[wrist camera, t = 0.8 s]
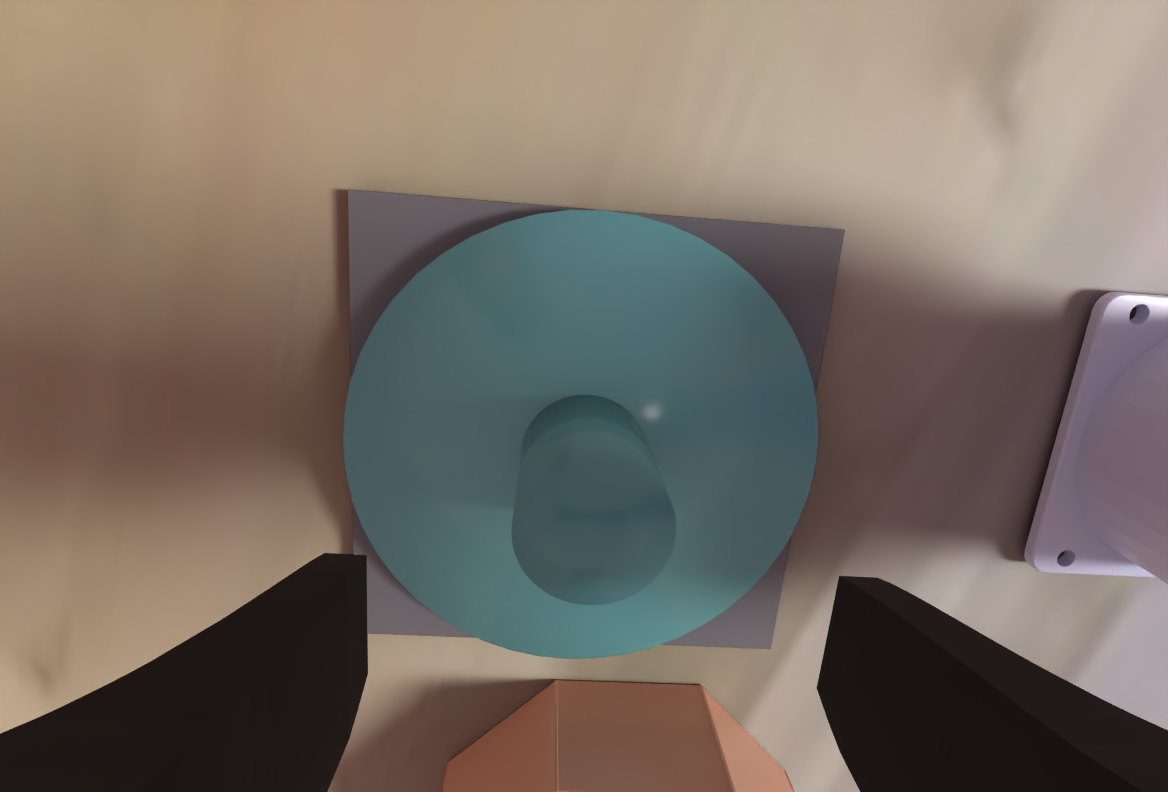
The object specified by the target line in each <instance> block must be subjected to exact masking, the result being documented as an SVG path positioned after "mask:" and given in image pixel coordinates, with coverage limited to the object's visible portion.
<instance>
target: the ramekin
mask: <svg viewBox="0 0 1168 792" xmlns="http://www.w3.org/2000/svg"><path fill="white" fill-rule="evenodd" d="M442 792H794V790H793V787H792V785H791V782H790V780H789V778H788V775H787V773H786V771H784V770H783V769H782V768H781V767H780V766H779V765H778V764H777V763H776V762H775V761H774V760H773V759H772V758H771V757H770V756H769V754H768V753H767V752H766V751H765V750H764V749H763V748H762V747H761V746H760V745H759V744H758V743H757V742H756V741H755V740H754V739H753V738H752V737H751V736H750V735H749V734H748V733H747V732H746V731H745V730H744V729H743V728H742V727H741V726H740V725H739V724H738V723H737V722H736V721H735V720H734V719H733V718H732V717H731V716H730V715H729V714H728V713H727V712H726V711H725V710H724V708H723V707H722V706H721V705H720V704H719V703H718V702H717V701H716V700H715V699H714V698H713V697H712V696H711V695H710V694H709V693H708V692H707V691H706V690H705V689H704V688H703V686H702V685H680V684H652V683H623V682H594V681H566V680H554V682H553V683H551V684H550V685H549V686H548V687H546V688H545V689H544V690H542V691H541V692H540V693H538V694H537V695H536V696H534V697H533V698H532V699H530V700H529V701H528V702H527V703H525V704H524V705H523V706H521V707H520V708H519V709H517V710H516V711H515V712H513V713H512V714H511V715H510V716H508V717H507V718H506V719H504V720H503V721H502V722H500V723H499V724H498V725H496V726H495V727H494V728H492V729H491V730H490V731H489V732H487V733H486V734H485V735H483V736H482V737H481V738H479V739H478V740H477V741H475V742H474V743H473V744H472V745H470V746H469V747H468V748H466V749H465V750H464V751H462V752H461V753H460V754H458V755H457V756H456V757H454V758H453V759H452V760H451V761H449V762H447V766H446V771H445V776H444V782H443V787H442Z"/></svg>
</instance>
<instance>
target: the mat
mask: <svg viewBox="0 0 1168 792" xmlns="http://www.w3.org/2000/svg"><path fill="white" fill-rule="evenodd" d="M564 210H594V209H582V208H569V207H557V206H544V205H532V204H520V203H507V202H495V201H482V200H470V199H458V198H445V197H433V196H420V195H408V194H396V193H383V192H371V191H358V190H348V223H349V289H350V356H351V378H352V375H353V372H354V369H355V367H356V364H357V361H358V358H359V355H360V352H361V350H362V348H363V347H364V345H365V343H366V341H367V339H368V337H369V335H370V333H371V331H372V329H373V327H374V325H375V324H376V322H377V321H378V319H379V318H380V317H381V315H382V314H383V312H384V311H385V310H386V308H387V307H388V305H389V304H390V303H391V301H392V300H393V298H394V297H395V296H396V295H397V294H398V293H399V292H400V291H401V290H402V289H403V288H404V287H405V286H406V285H407V284H408V283H409V282H410V280H411V279H412V278H413V277H414V276H415V275H416V274H417V273H419V272H420V271H421V270H422V269H424V268H425V267H426V266H427V265H429V264H430V263H431V262H432V261H434V260H435V259H436V258H437V257H439V256H440V255H441V254H443V253H444V252H446V251H447V250H449V249H451V248H453V247H454V246H456V245H458V244H459V243H461V242H463V241H464V240H466V239H468V238H470V237H471V236H473V235H476V234H478V233H481V232H483V231H485V230H488V229H490V228H493V227H495V226H497V225H500V224H502V223H505V222H508V221H512V220H516V219H520V218H523V217H527V216H531V215H535V214H540V213H548V212H556V211H564ZM605 211H606V210H605ZM612 212H618V213H625V214H632V215H638V216H642V217H645V218H649V219H652V220H655V221H659V222H662V223H666V224H669V225H672V226H674V227H676V228H678V229H681V230H683V231H685V232H687V233H690V234H692V235H694V236H696V237H698V238H701V239H702V240H704V241H705V242H707V243H709V244H710V245H712V246H713V247H715V248H717V249H718V250H720V251H721V252H723V253H724V254H726V255H728V256H729V257H730V258H731V259H733V260H734V261H735V262H736V263H737V264H738V265H740V266H741V267H742V268H743V269H744V270H746V271H747V272H748V273H749V274H750V275H751V276H753V277H754V278H755V280H756V281H757V282H758V283H759V284H760V285H761V286H762V287H763V289H764V290H765V291H766V292H767V293H768V294H769V295H770V296H771V298H772V299H773V300H774V301H775V303H776V304H777V306H778V307H779V309H780V310H781V312H782V313H783V315H784V316H785V318H786V319H787V321H788V322H789V324H790V325H791V327H792V329H793V331H794V333H795V335H796V338H797V340H798V342H799V344H800V346H801V348H802V350H803V352H804V355H805V358H806V361H807V364H808V368H809V371H810V374H811V377H812V380H813V385H814V391H815V395H816V389H817V384H818V378H819V372H820V367H821V361H822V355H823V349H824V344H825V338H826V332H827V327H828V321H829V315H830V310H831V304H832V298H833V293H834V287H835V281H836V276H837V270H838V264H839V259H840V253H841V247H842V242H843V236H844V230H842V229H829V228H817V227H805V226H792V225H780V224H767V223H755V222H743V221H730V220H718V219H706V218H693V217H681V216H668V215H656V214H644V213H631V212H619V211H612ZM790 537H791V536H790ZM789 543H790V538H789V540H788V542H787V543H786V545H785V547H784V549H783V550H782V551H781V553H780V554H779V556H778V557H777V558H776V560H775V561H774V562H773V564H772V565H771V566H770V568H769V569H768V571H767V572H766V573H765V574H764V575H763V576H762V577H761V578H760V579H759V580H758V581H757V582H756V583H755V585H754V586H753V587H752V588H751V589H750V590H749V591H748V592H747V593H746V594H744V595H743V596H742V597H741V598H740V599H738V600H737V601H736V602H735V603H734V604H733V605H731V606H730V607H729V608H728V609H727V610H725V611H724V612H722V613H721V614H719V615H718V616H716V617H715V618H713V619H712V620H710V621H708V622H707V623H705V624H704V625H702V626H700V627H698V628H696V629H694V630H692V631H690V632H688V633H686V634H684V635H682V636H681V637H679V638H676V639H673V640H671V641H668V642H665V643H663V644H660V645H678V646H704V647H730V648H756V649H771V645H772V639H773V633H774V628H775V622H776V616H777V611H778V605H779V599H780V594H781V588H782V582H783V577H784V571H785V565H786V560H787V554H788V548H789ZM353 554H354V555H367V633H369V634H394V635H420V636H446V637H472V638H477V637H475V636H473V635H470V634H468V633H466V632H464V631H462V630H460V629H458V628H456V627H455V626H453V625H452V624H450V623H448V622H447V621H445V620H444V619H442V618H441V617H439V616H437V615H436V614H434V613H433V612H432V611H431V610H429V609H428V608H427V607H426V606H425V605H423V604H422V603H421V602H420V601H418V600H417V599H416V598H415V597H413V596H412V595H411V594H410V592H409V591H408V590H407V589H406V588H405V587H404V586H403V585H402V584H401V583H400V582H399V581H398V580H397V579H396V578H395V577H394V576H393V574H392V573H391V572H390V570H389V569H388V568H387V566H386V565H385V564H384V562H383V561H382V559H381V558H380V557H379V555H378V554H377V553H376V551H375V549H374V547H373V545H372V544H371V542H370V540H369V538H368V536H367V534H366V533H365V531H364V529H363V527H362V525H361V522H360V519H359V517H358V514H357V512H356V509H355V506H354V504H353Z"/></svg>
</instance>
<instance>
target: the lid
mask: <svg viewBox="0 0 1168 792" xmlns="http://www.w3.org/2000/svg"><path fill="white" fill-rule="evenodd" d="M817 449H818V410H817V403H816V397H815V391H814V385H813V380H812V377H811V374H810V371H809V368H808V364H807V361H806V358H805V355H804V352H803V350H802V348H801V346H800V344H799V342H798V340H797V338H796V335H795V333H794V331H793V329H792V327H791V325H790V324H789V322H788V321H787V319H786V318H785V316H784V315H783V313H782V312H781V310H780V309H779V307H778V306H777V304H776V303H775V301H774V300H773V299H772V298H771V296H770V295H769V294H768V293H767V292H766V291H765V290H764V289H763V287H762V286H761V285H760V284H759V283H758V282H757V281H756V280H755V278H754V277H753V276H751V275H750V274H749V273H748V272H747V271H746V270H744V269H743V268H742V267H741V266H740V265H738V264H737V263H736V262H735V261H734V260H733V259H731V258H730V257H729V256H728V255H726V254H724V253H723V252H721V251H720V250H718V249H717V248H715V247H713V246H712V245H710V244H709V243H707V242H705V241H704V240H702V239H701V238H698V237H696V236H694V235H692V234H690V233H687V232H685V231H683V230H681V229H678V228H676V227H674V226H672V225H669V224H666V223H662V222H659V221H655V220H652V219H649V218H645V217H642V216H638V215H632V214H625V213H618V212H612V211H605V210H564V211H556V212H548V213H540V214H535V215H531V216H527V217H523V218H520V219H516V220H512V221H508V222H505V223H502V224H500V225H497V226H495V227H493V228H490V229H488V230H485V231H483V232H481V233H478V234H476V235H473V236H471V237H470V238H468V239H466V240H464V241H463V242H461V243H459V244H458V245H456V246H454V247H453V248H451V249H449V250H447V251H446V252H444V253H443V254H441V255H440V256H439V257H437V258H436V259H435V260H434V261H432V262H431V263H430V264H429V265H427V266H426V267H425V268H424V269H422V270H421V271H420V272H419V273H417V274H416V275H415V276H414V277H413V278H412V279H411V280H410V282H409V283H408V284H407V285H406V286H405V287H404V288H403V289H402V290H401V291H400V292H399V293H398V294H397V295H396V296H395V297H394V298H393V300H392V301H391V303H390V304H389V305H388V307H387V308H386V310H385V311H384V312H383V314H382V315H381V317H380V318H379V319H378V321H377V322H376V324H375V325H374V327H373V329H372V331H371V333H370V335H369V337H368V339H367V341H366V343H365V345H364V347H363V348H362V350H361V352H360V355H359V358H358V361H357V364H356V367H355V369H354V372H353V375H352V378H351V381H350V385H349V391H348V396H347V401H346V406H345V411H344V427H343V450H344V461H345V472H346V476H347V480H348V485H349V489H350V493H351V498H352V501H353V504H354V506H355V509H356V512H357V514H358V517H359V519H360V522H361V525H362V527H363V529H364V531H365V533H366V534H367V536H368V538H369V540H370V542H371V544H372V545H373V547H374V549H375V551H376V553H377V554H378V555H379V557H380V558H381V559H382V561H383V562H384V564H385V565H386V566H387V568H388V569H389V570H390V572H391V573H392V574H393V576H394V577H395V578H396V579H397V580H398V581H399V582H400V583H401V584H402V585H403V586H404V587H405V588H406V589H407V590H408V591H409V592H410V594H411V595H412V596H413V597H415V598H416V599H417V600H418V601H420V602H421V603H422V604H423V605H425V606H426V607H427V608H428V609H429V610H431V611H432V612H433V613H434V614H436V615H437V616H439V617H441V618H442V619H444V620H445V621H447V622H448V623H450V624H452V625H453V626H455V627H456V628H458V629H460V630H462V631H464V632H466V633H468V634H470V635H473V636H475V637H477V638H479V639H481V640H483V641H486V642H489V643H491V644H494V645H497V646H500V647H503V648H506V649H509V650H513V651H518V652H522V653H527V654H532V655H537V656H544V657H554V658H565V659H580V658H601V657H609V656H616V655H624V654H628V653H632V652H636V651H640V650H644V649H648V648H652V647H655V646H657V645H660V644H663V643H665V642H668V641H671V640H673V639H676V638H679V637H681V636H682V635H684V634H686V633H688V632H690V631H692V630H694V629H696V628H698V627H700V626H702V625H704V624H705V623H707V622H708V621H710V620H712V619H713V618H715V617H716V616H718V615H719V614H721V613H722V612H724V611H725V610H727V609H728V608H729V607H730V606H731V605H733V604H734V603H735V602H736V601H737V600H738V599H740V598H741V597H742V596H743V595H744V594H746V593H747V592H748V591H749V590H750V589H751V588H752V587H753V586H754V585H755V583H756V582H757V581H758V580H759V579H760V578H761V577H762V576H763V575H764V574H765V573H766V572H767V571H768V569H769V568H770V566H771V565H772V564H773V562H774V561H775V560H776V558H777V557H778V556H779V554H780V553H781V551H782V550H783V549H784V547H785V545H786V543H787V542H788V540H789V538H790V536H791V534H792V533H793V531H794V529H795V527H796V525H797V524H798V521H799V519H800V516H801V514H802V511H803V509H804V506H805V504H806V501H807V498H808V496H809V492H810V488H811V484H812V480H813V476H814V472H815V466H816V457H817Z"/></svg>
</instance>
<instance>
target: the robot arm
mask: <svg viewBox="0 0 1168 792" xmlns="http://www.w3.org/2000/svg"><path fill="white" fill-rule="evenodd" d="M1135 306H1136V307H1137V313H1136V314H1135V316H1134V318H1133V319H1131V320H1130V319H1129V316H1130V312H1131V310H1132V308H1134V307H1135ZM1063 551H1065V553H1064V555H1063V556H1062V557H1061V558H1059V559H1057V558H1058V556H1059V554H1060V553H1062V552H1063ZM1024 557H1025V560H1026V562H1027V563H1028V564H1030V565H1031V566H1032V567H1033V568H1035V569H1036V570H1037V571H1040V572H1047V573H1068V574H1089V575H1110V576H1131V577H1152V578H1159V579H1161V580H1162V581H1164V582H1165V583H1167V584H1168V296H1165V295H1152V294H1139V293H1126V292H1110V293H1107V294H1105V295H1103V296H1101V297H1100V298H1099V299H1098V300H1097V301H1096V303H1095V305H1094V307H1093V309H1092V312H1091V316H1090V319H1089V323H1088V326H1087V330H1086V333H1085V337H1084V341H1083V344H1082V348H1081V351H1080V355H1079V358H1078V362H1077V366H1076V369H1075V373H1074V376H1073V380H1072V383H1071V387H1070V391H1069V394H1068V398H1067V401H1066V405H1065V408H1064V412H1063V416H1062V419H1061V423H1060V426H1059V430H1058V433H1057V437H1056V441H1055V444H1054V448H1053V451H1052V455H1051V458H1050V462H1049V466H1048V469H1047V473H1046V476H1045V480H1044V483H1043V487H1042V490H1041V494H1040V498H1039V501H1038V505H1037V508H1036V512H1035V515H1034V519H1033V523H1032V526H1031V530H1030V533H1029V537H1028V540H1027V544H1026V548H1025V553H1024ZM367 674H368V648H367V555H354V554H331V553H324V554H322V555H321V556H319V557H317V558H315V559H314V560H312V561H310V562H309V563H307V564H306V565H304V566H303V567H301V568H300V569H298V570H297V571H295V572H293V573H292V574H290V575H289V576H287V577H286V578H284V579H283V580H281V581H280V582H278V583H277V584H275V585H274V586H272V587H271V588H269V589H268V590H266V591H265V592H263V593H262V594H260V595H259V596H257V597H256V598H254V599H253V600H251V601H250V602H248V603H246V604H245V605H243V606H242V607H240V608H239V609H237V610H236V611H234V612H233V613H231V614H230V615H228V616H226V617H225V618H223V619H222V620H220V621H218V622H217V623H215V624H213V625H212V626H210V627H208V628H207V629H205V630H203V631H202V632H200V633H198V634H197V635H195V636H193V637H191V638H190V639H188V640H186V641H185V642H183V643H181V644H180V645H178V646H176V647H175V648H173V649H171V650H169V651H168V652H166V653H164V654H163V655H161V656H159V657H158V658H156V659H154V660H153V661H151V662H149V663H147V664H145V665H143V666H142V667H140V668H138V669H136V670H134V671H132V672H130V673H129V674H127V675H125V676H123V677H121V678H119V679H117V680H115V681H113V682H111V683H109V684H107V685H105V686H103V687H101V688H99V689H97V690H95V691H93V692H91V693H89V694H87V695H85V696H83V697H81V698H79V699H77V700H75V701H73V702H71V703H69V704H67V705H65V706H63V707H60V708H58V709H56V710H54V711H52V712H50V713H47V714H45V715H43V716H41V717H39V718H36V719H34V720H32V721H29V722H27V723H24V724H22V725H20V726H17V727H15V728H13V729H10V730H8V731H6V732H3V733H1V734H0V792H327V791H328V789H329V786H330V784H331V781H332V779H333V777H334V774H335V772H336V769H337V767H338V765H339V762H340V760H341V757H342V755H343V753H344V750H345V748H346V745H347V743H348V740H349V738H350V734H351V731H352V727H353V724H354V721H355V717H356V714H357V711H358V707H359V703H360V700H361V696H362V693H363V689H364V685H365V682H366V678H367ZM817 690H818V693H819V696H820V699H821V702H822V704H823V707H824V710H825V713H826V716H827V719H828V722H829V724H830V727H831V730H832V732H833V735H834V737H835V740H836V743H837V745H838V748H839V750H840V753H841V755H842V757H843V759H844V761H845V763H846V765H847V767H848V769H849V770H850V772H851V774H852V776H853V778H854V780H855V782H856V784H857V786H858V788H859V790H860V792H1168V730H1165V729H1163V728H1161V727H1159V726H1157V725H1155V724H1152V723H1150V722H1148V721H1146V720H1144V719H1141V718H1139V717H1137V716H1135V715H1133V714H1131V713H1129V712H1127V711H1125V710H1122V709H1120V708H1118V707H1116V706H1114V705H1112V704H1110V703H1108V702H1106V701H1104V700H1102V699H1100V698H1098V697H1096V696H1094V695H1092V694H1091V693H1089V692H1087V691H1085V690H1083V689H1081V688H1079V687H1077V686H1075V685H1073V684H1071V683H1070V682H1068V681H1066V680H1064V679H1062V678H1060V677H1058V676H1056V675H1054V674H1052V673H1050V672H1049V671H1047V670H1045V669H1043V668H1041V667H1039V666H1038V665H1036V664H1034V663H1032V662H1030V661H1029V660H1027V659H1025V658H1023V657H1021V656H1019V655H1018V654H1016V653H1014V652H1012V651H1011V650H1009V649H1007V648H1005V647H1003V646H1002V645H1000V644H998V643H996V642H995V641H993V640H991V639H989V638H988V637H986V636H984V635H982V634H981V633H979V632H977V631H976V630H974V629H972V628H970V627H969V626H967V625H965V624H963V623H962V622H960V621H958V620H956V619H955V618H953V617H951V616H949V615H948V614H946V613H944V612H943V611H941V610H939V609H937V608H936V607H934V606H932V605H930V604H929V603H927V602H925V601H923V600H921V599H920V598H918V597H916V596H914V595H912V594H910V593H909V592H907V591H905V590H903V589H901V588H899V587H897V586H895V585H893V584H891V583H889V582H886V581H884V580H882V579H879V578H872V577H850V576H839V580H838V585H837V590H836V595H835V600H834V605H833V610H832V615H831V620H830V625H829V630H828V635H827V640H826V645H825V650H824V655H823V660H822V665H821V670H820V675H819V680H818V685H817Z"/></svg>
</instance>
